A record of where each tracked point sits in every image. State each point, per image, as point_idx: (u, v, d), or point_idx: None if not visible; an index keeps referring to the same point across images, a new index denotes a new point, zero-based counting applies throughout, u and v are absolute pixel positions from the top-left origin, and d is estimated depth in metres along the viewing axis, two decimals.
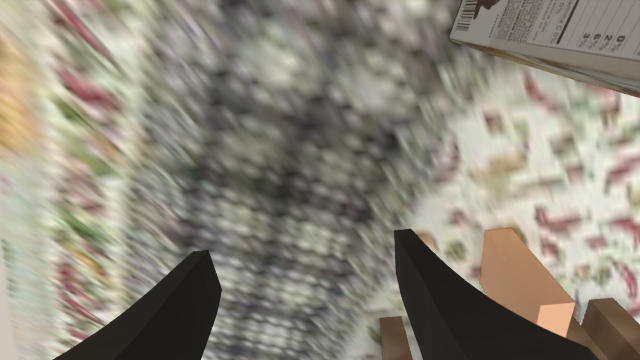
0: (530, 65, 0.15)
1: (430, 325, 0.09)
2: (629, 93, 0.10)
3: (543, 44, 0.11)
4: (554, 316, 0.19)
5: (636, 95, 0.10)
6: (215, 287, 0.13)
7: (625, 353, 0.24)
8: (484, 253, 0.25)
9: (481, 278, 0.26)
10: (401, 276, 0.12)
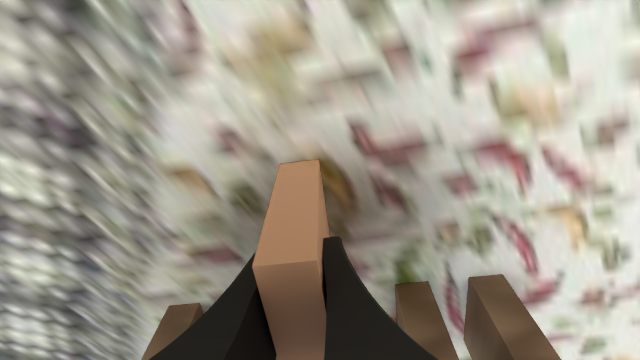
0: None
1: None
2: None
3: None
4: (288, 289, 0.10)
5: None
6: None
7: (501, 357, 0.15)
8: None
9: None
10: None
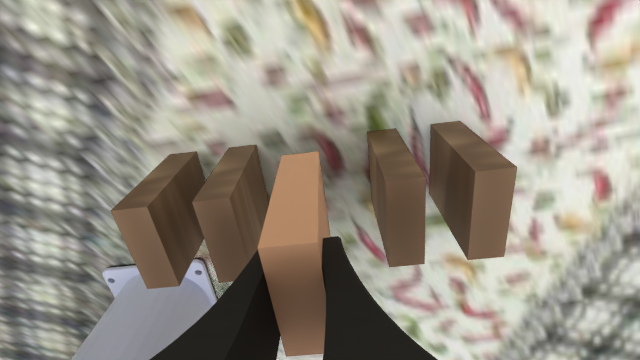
0: None
1: None
2: None
3: None
4: (290, 269, 0.10)
5: None
6: None
7: (451, 166, 0.18)
8: None
9: None
10: None
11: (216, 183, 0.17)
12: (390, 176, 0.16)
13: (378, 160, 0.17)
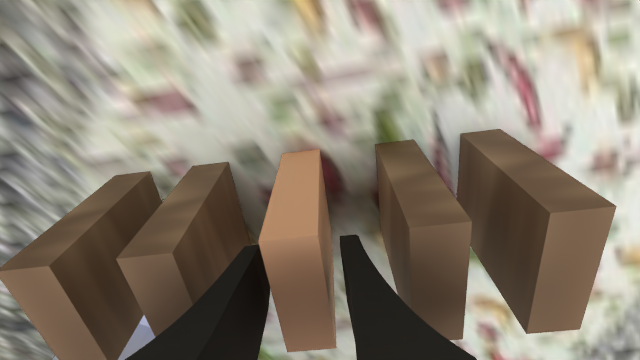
0: None
1: None
2: None
3: None
4: (291, 262, 0.11)
5: None
6: (266, 282, 0.13)
7: (498, 195, 0.13)
8: None
9: None
10: None
11: (160, 225, 0.12)
12: (416, 219, 0.10)
13: (394, 189, 0.12)
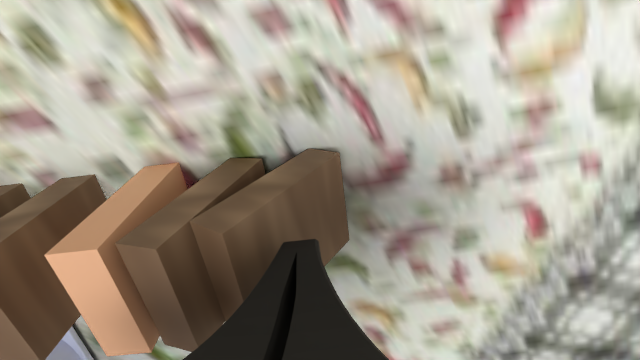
0: None
1: None
2: None
3: None
4: (81, 274, 0.11)
5: None
6: None
7: None
8: None
9: None
10: None
11: None
12: (130, 236, 0.12)
13: (166, 205, 0.13)
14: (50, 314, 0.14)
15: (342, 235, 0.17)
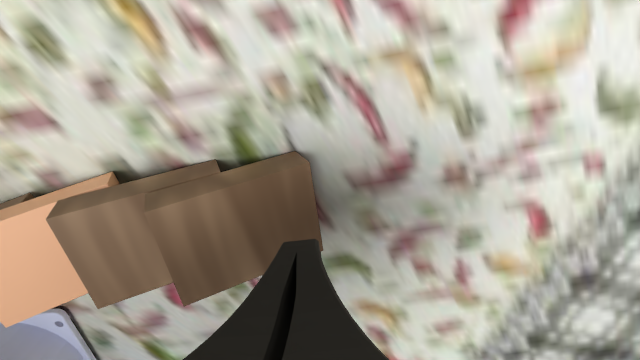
0: None
1: None
2: None
3: None
4: None
5: None
6: None
7: None
8: None
9: None
10: None
11: None
12: (66, 200, 0.15)
13: (116, 185, 0.16)
14: None
15: None
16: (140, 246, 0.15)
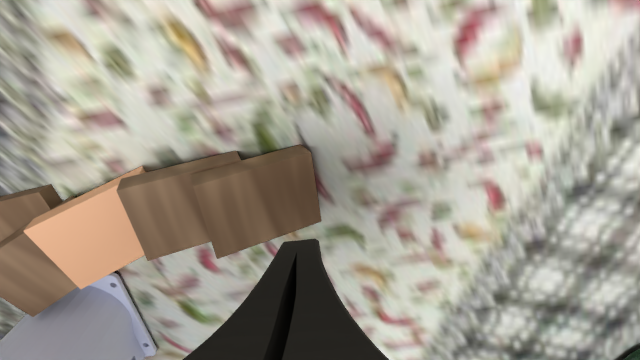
0: None
1: None
2: None
3: None
4: None
5: None
6: None
7: None
8: None
9: None
10: None
11: None
12: (127, 178, 0.20)
13: (163, 168, 0.21)
14: (34, 294, 0.23)
15: (313, 216, 0.22)
16: (180, 214, 0.21)
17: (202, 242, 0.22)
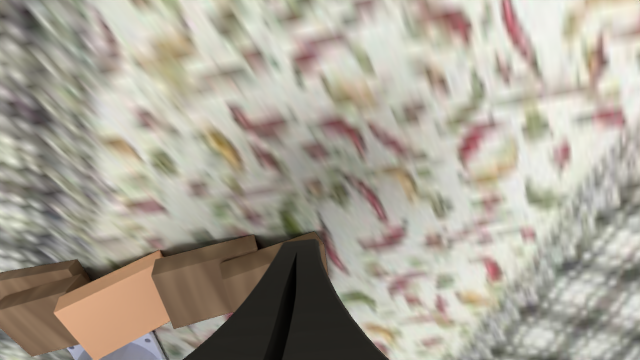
0: None
1: None
2: None
3: None
4: None
5: None
6: None
7: None
8: None
9: None
10: None
11: (16, 297, 0.26)
12: (160, 260, 0.24)
13: (190, 251, 0.24)
14: (34, 343, 0.26)
15: None
16: (202, 292, 0.24)
17: (221, 314, 0.25)
